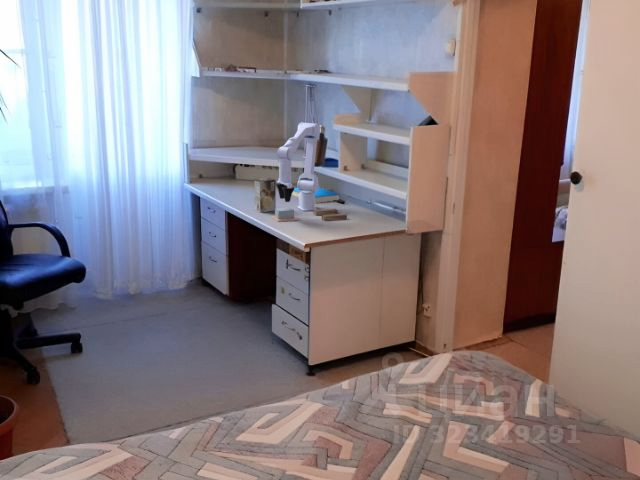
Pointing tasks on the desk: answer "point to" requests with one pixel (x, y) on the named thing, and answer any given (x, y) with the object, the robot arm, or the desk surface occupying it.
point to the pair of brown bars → (334, 215)
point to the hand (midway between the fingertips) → (284, 200)
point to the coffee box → (265, 194)
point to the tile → (284, 219)
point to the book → (320, 195)
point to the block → (284, 213)
